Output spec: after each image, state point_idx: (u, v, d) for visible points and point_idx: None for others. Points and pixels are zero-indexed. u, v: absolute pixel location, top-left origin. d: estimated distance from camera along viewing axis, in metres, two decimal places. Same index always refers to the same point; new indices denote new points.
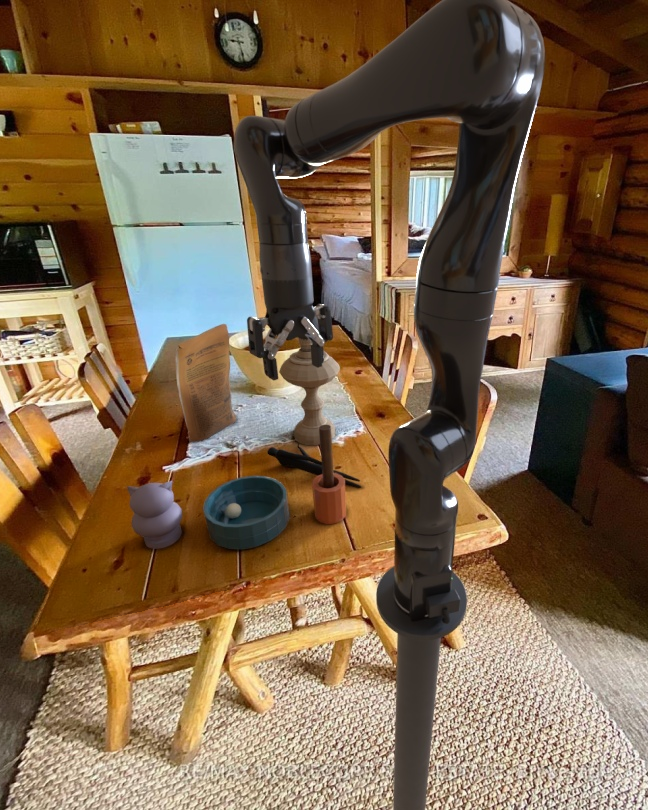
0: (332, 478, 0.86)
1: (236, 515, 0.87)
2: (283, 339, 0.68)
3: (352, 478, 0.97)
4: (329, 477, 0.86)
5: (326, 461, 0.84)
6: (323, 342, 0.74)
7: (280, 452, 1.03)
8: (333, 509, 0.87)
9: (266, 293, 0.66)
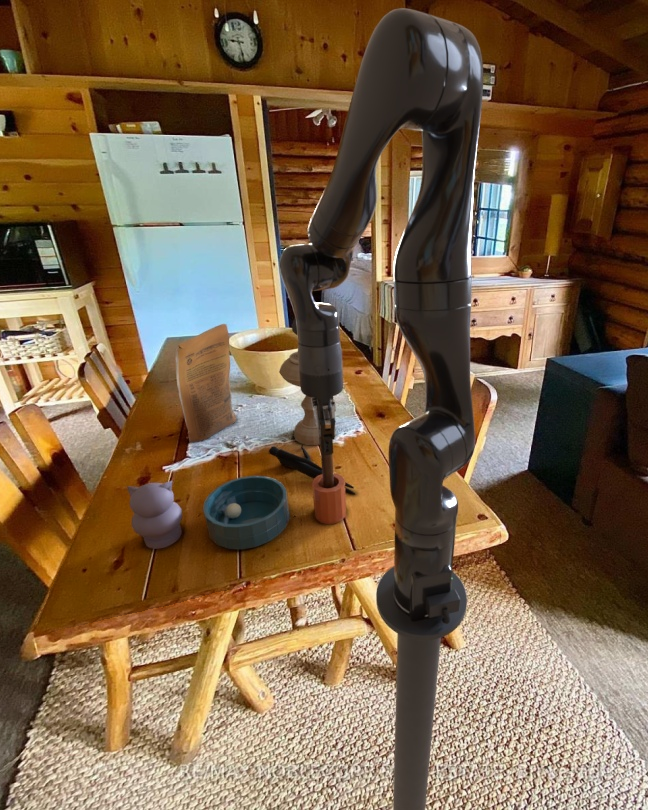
0: (332, 478, 0.86)
1: (236, 515, 0.87)
2: None
3: (346, 484, 0.96)
4: (329, 477, 0.86)
5: (326, 461, 0.84)
6: None
7: (280, 452, 1.03)
8: (333, 509, 0.87)
9: (324, 386, 0.74)
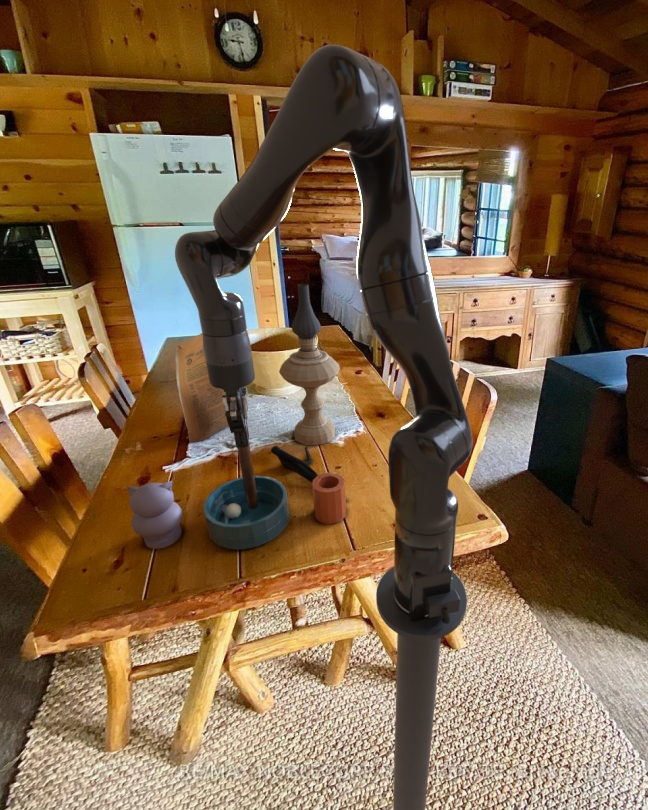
0: (251, 471, 0.85)
1: (236, 515, 0.87)
2: (246, 409, 0.79)
3: None
4: (247, 470, 0.84)
5: (243, 454, 0.83)
6: (247, 416, 0.83)
7: (279, 452, 1.03)
8: (333, 509, 0.87)
9: (229, 377, 0.73)
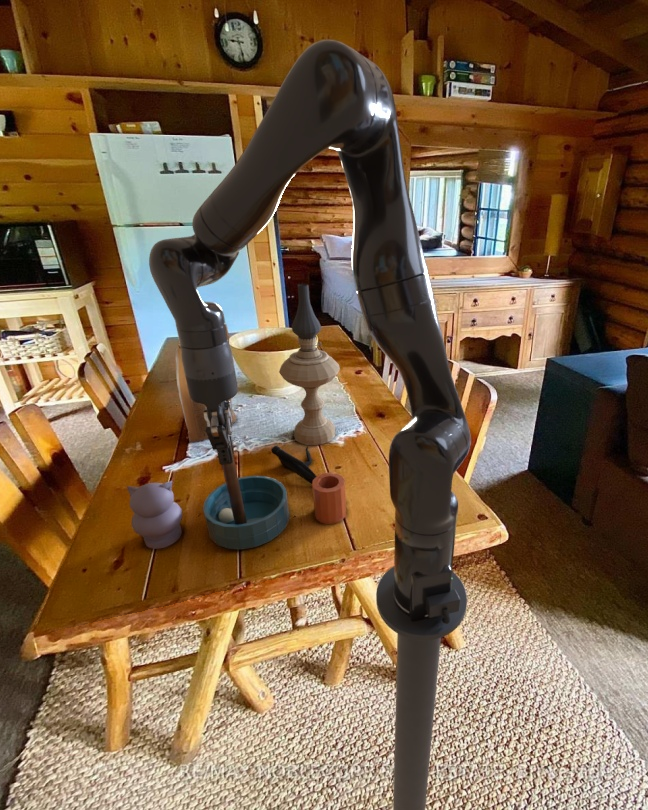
0: (237, 488, 0.81)
1: (226, 521, 0.86)
2: (230, 424, 0.75)
3: None
4: (233, 487, 0.80)
5: (227, 471, 0.78)
6: (231, 431, 0.79)
7: (279, 452, 1.03)
8: (333, 509, 0.87)
9: (209, 391, 0.69)
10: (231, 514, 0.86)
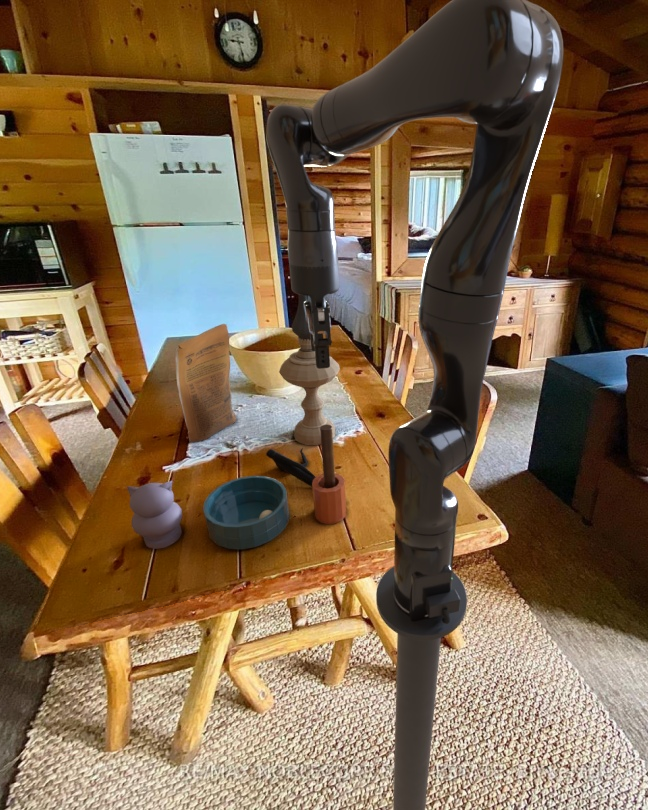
0: (333, 478, 0.86)
1: None
2: None
3: None
4: (331, 477, 0.86)
5: (327, 461, 0.84)
6: None
7: (275, 456, 1.02)
8: (333, 509, 0.87)
9: (317, 281, 0.66)
10: (267, 513, 0.85)
